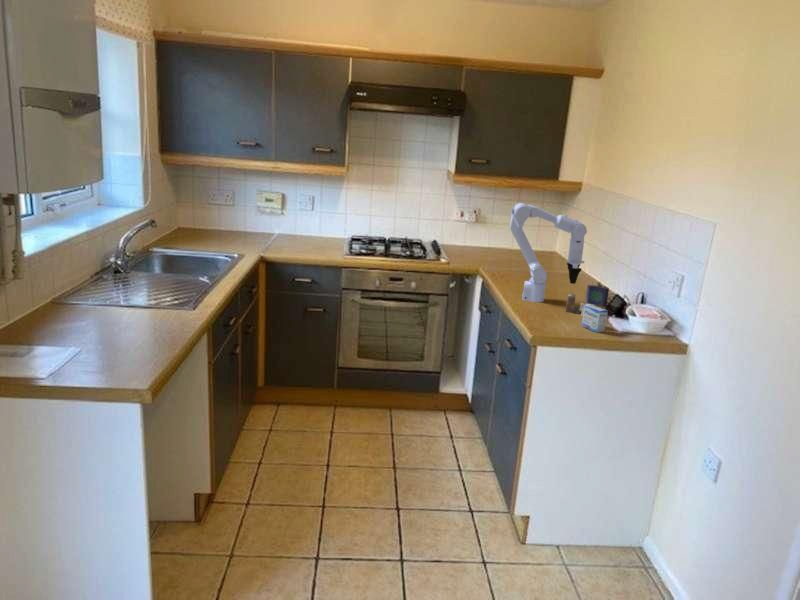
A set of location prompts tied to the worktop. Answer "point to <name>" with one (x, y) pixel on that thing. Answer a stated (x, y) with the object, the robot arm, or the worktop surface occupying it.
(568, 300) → the kicker
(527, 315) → the worktop surface
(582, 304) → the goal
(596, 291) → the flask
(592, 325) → the medicine box
